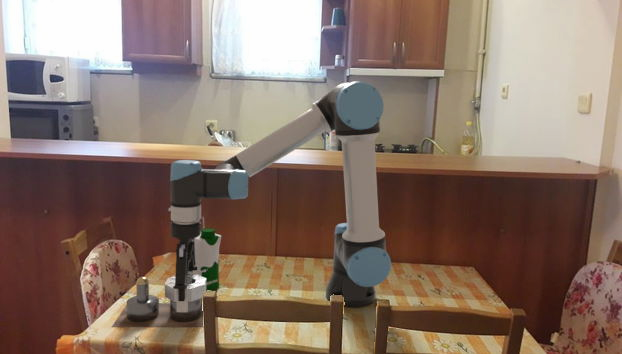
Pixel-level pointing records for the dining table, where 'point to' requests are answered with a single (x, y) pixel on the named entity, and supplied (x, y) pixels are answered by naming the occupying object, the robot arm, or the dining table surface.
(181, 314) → the stand post
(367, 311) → the dining table surface
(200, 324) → the board
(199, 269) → the milk carton
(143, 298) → the hub post
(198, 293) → the steel ring
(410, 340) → the dining table surface
